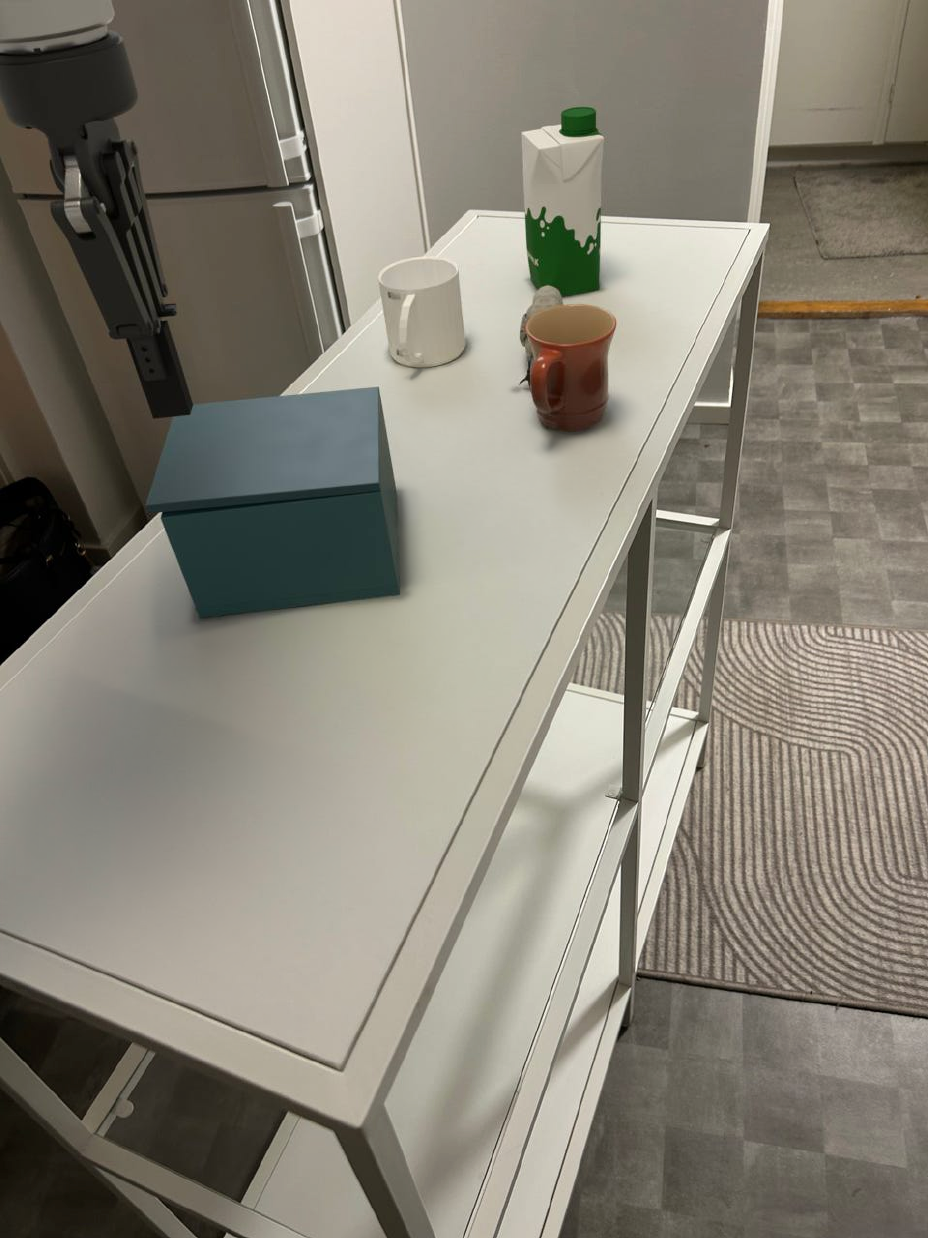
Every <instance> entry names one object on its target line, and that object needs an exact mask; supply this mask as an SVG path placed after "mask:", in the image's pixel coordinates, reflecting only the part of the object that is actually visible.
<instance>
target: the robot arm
mask: <svg viewBox="0 0 928 1238" xmlns="http://www.w3.org/2000/svg"><path fill="white" fill-rule="evenodd" d="M115 15H116V12H115V10H114V6H113V2H112V0H0V102H1V105H2V108H3V109H4V112H5V115H6V117H7V119H8V120H9V121H10V122H11V124H14V125H15V126H17V127H19V128H22V129H27V130H31V129H35V130H37V131H40V132H41V133H43V134H44V135H45V138H46V139H47V145H48V146H47V147H48V149H49V153H50V159H49V169H50V172H51V175H52V177H53V181H54V184H55V186H56V189H57V190H58V191H60V193H62V195H63V198H64V199H58V200H51V201H50V205H49V206H50V214H51V216H52V219H53V221H54V222H55V224H56V225H57V227H58V228H59V230H60V231H61V233H62V234H63V235H64V237H65V238H66V240H67V242H68V243H69V245H70V248H71V250H72V252H73V254H74V257H75V260H76V261H77V264H78V266H79V268H80V270H81V273H82V274H83V276H84V278H85V281H86V283H87V285H88V288H89V290H90V293H91V294H92V296H93V299H94V301H95V303H96V305H97V307H98V309H99V311H100V314H101V316H102V318H103V320H104V323H105V325H106V326H107V329H108V335H109V338H110V339H113V340H125V341H126V344H127V346H128V347H127V348H128V350H129V352H130V355H131V358H132V361H133V365H134V367H135V370H136V373H137V376H138V378H139V382H140V385H141V387H142V391H143V393H144V396H145V399H146V402H147V405H148V408H149V412H150V415H151V417H152V419H153V420H155V419H163V418H165V419H166V418H173V417H174V416H184V415H190V414H191V411H192V407H193V404H194V403H193V399H192V396H191V393H190V390H189V386H188V384H187V380H186V376H185V373H184V370H183V367H182V363H181V360H180V357H179V354H178V351H177V347H176V343H175V341H174V338H173V335H172V331H171V328H170V325H169V321H168V320H167V319H166V320H163V318H167V317H176V316H178V308H177V303H176V302H173V303H165V300H164V298H167V297H168V296H169V286H168V284H167V282H166V278H165V274H164V268H163V266H162V261H161V257H160V256H161V255H160V253H159V249H158V244H157V240H156V236H155V231H154V228H153V223H152V219H151V216H150V215H151V214H150V211H149V206H148V202H147V198H146V193H145V189H144V185H143V181H142V175H141V168H140V161H139V155H138V154H139V151H138V147H137V145H136V143H135V142H134V140H133V139H127V140H126V138H124V139H121V135H120V130H119V127H118V125H117V123H116V120H115V118H116V117H119V116H121V115H124V114H125V113H127V112H129V111H131V110H132V109H133V108H135V106H136V105H137V104H138V101H139V90H138V87H137V84H136V80H135V77H134V74H133V70H132V67H131V66H132V65H131V63H130V58H129V56H128V53H127V49H126V45H125V41H124V38H123V37H122V36H120V35H119V33H118V32H117V31H116V30H113V29H108V26H107V25H108V24H110V23H111V22H113V19H114V18H115Z"/></svg>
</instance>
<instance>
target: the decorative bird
mask: <svg viewBox="0 0 928 1238" xmlns="http://www.w3.org/2000/svg"><path fill="white" fill-rule="evenodd" d="M531 303H532V304H531V305H530V306H529V307H528V308H527V310H526V311H525V313H524V314H523V315H522V318H521V322H520V329H519V339H520V340H519V341H520V344H521V346H522V347H523V348H525V354H526V361H527V369H526V375H525V377H524V378H522V379H521V381H520V382H519V384H518V386H521V385H522V383H524V382H527V385H528V388H529V389H531V387H530V375H531V370H532V360H533V361H534V356H533V352H532V348H531V345H530V342H529V340H528V337H527V335H526V332H525V324H526V322H527V321H528V319H529V318H530V317H531V316H533V315H534V314H536V313H537V312H539V311H541V310H544V309H547V308H550V307H554V306H559V305H564V301H563V297H561V294H560V292H559V291H558V290H557V289H556V288H554V287H552V286H548V285H547V286H544V287H541V288H540V289H538V288H537V291H536V292H535V293H534V295H533V298H532V302H531Z"/></svg>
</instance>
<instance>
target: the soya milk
mask: <svg viewBox="0 0 928 1238" xmlns="http://www.w3.org/2000/svg"><path fill="white" fill-rule="evenodd" d="M520 135H521V136H520V137H521V155H522V157H521V158H522V161H521V162H522V184H523V206H524V229H525V231H524V232H525V248H526V249H525V250H526V255H527V263H528V271H529V277H530V278H529V279H530V280H531V282H532V283H533V284H534V286H535V287H536V288H537V290H538V289H540V288H541V287H544V286H547V285H548V286H552V287H554V288H556V289H557V290H558V291H559V292H560V294H561V297H562V298H564V297H568V296H573V295H578V294H583V293H588V292H589V293H590V292H594V291H598V290H600V281H601V280H600V277H601V276H600V274H601V250H602V249H601V246H602V245H601V241H602V240H601V239H602V237H601V236H602V235H601V234H602V233H601V232H602V230H601V229H602V167H603V155H604V148H605V147H604V146H605V137H604V136H603V135H602V133H600V132H599V129H598V128H597V109H596V108H593V107H590V106H576V107H575V106H573V107H570V108H566V109H564V110H562V111H561V113H560V124H556V125H555V124H554V125H546V126H545V125H544V126H542V127H541V128H538V129H531V130H526V131H521V132H520Z"/></svg>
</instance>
